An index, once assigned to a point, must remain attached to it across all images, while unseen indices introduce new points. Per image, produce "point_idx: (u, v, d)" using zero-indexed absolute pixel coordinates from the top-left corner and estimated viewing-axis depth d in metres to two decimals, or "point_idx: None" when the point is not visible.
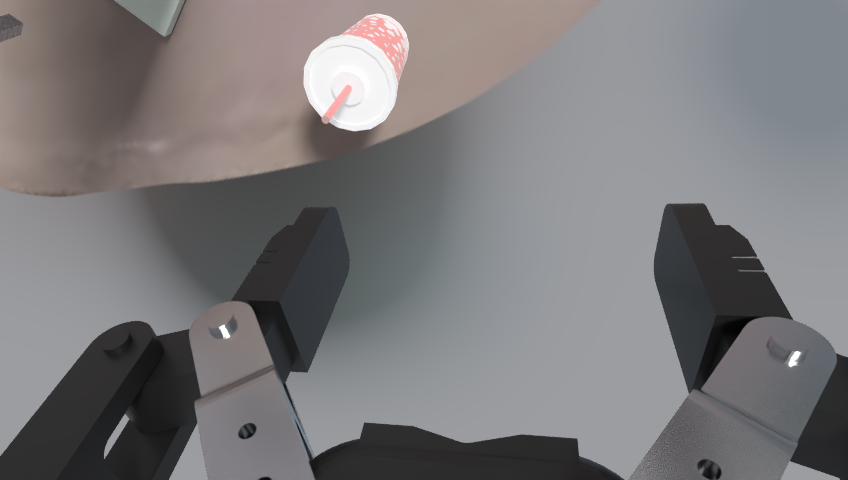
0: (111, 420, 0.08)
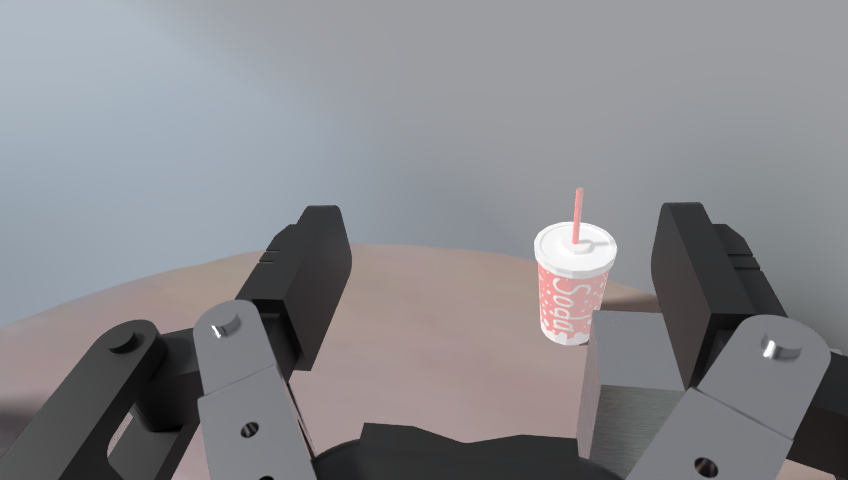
0: (114, 418, 0.08)
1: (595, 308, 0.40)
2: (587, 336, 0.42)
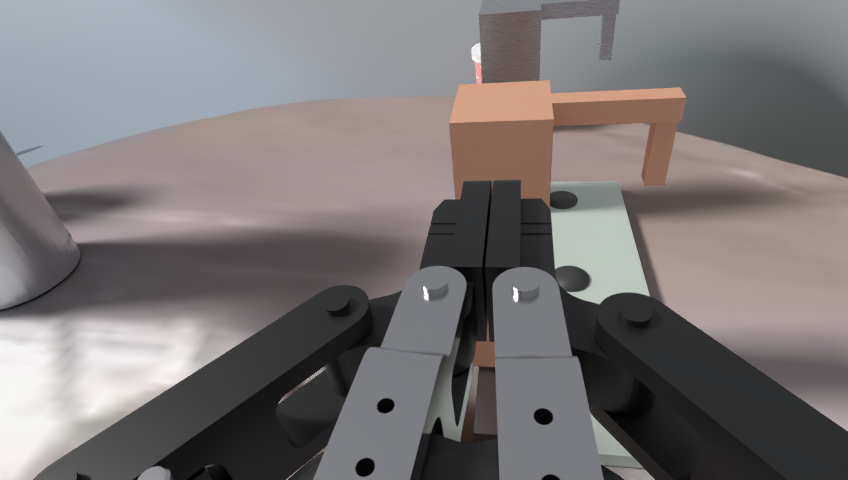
0: (294, 378, 0.09)
1: None
2: None
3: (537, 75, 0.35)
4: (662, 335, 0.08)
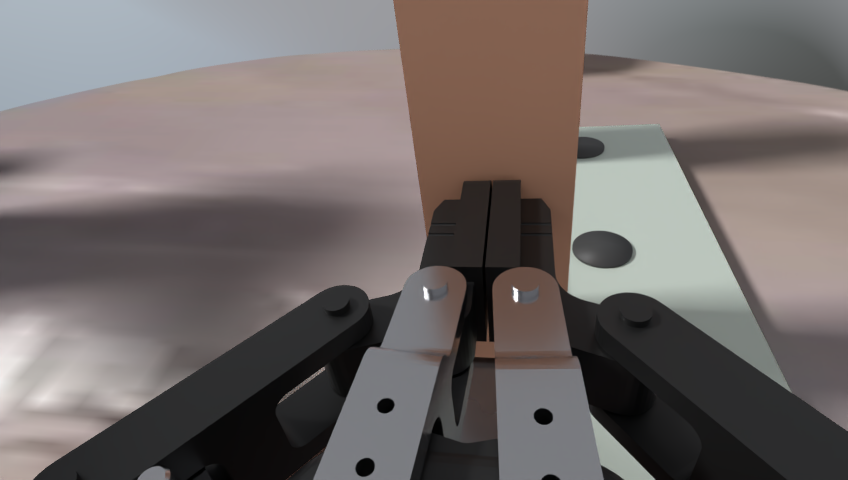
0: (294, 378, 0.09)
1: None
2: None
3: None
4: (662, 335, 0.08)
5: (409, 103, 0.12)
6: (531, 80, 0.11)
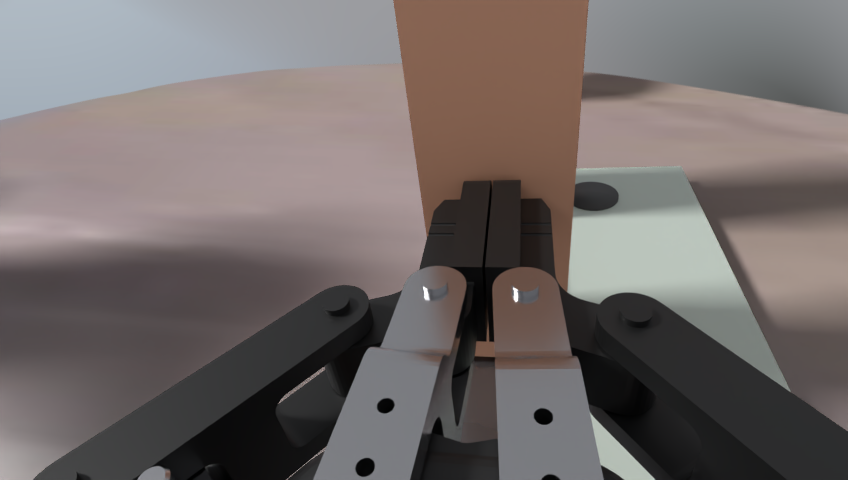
0: (295, 379, 0.09)
1: None
2: None
3: None
4: (662, 335, 0.08)
5: (409, 103, 0.12)
6: (531, 80, 0.11)
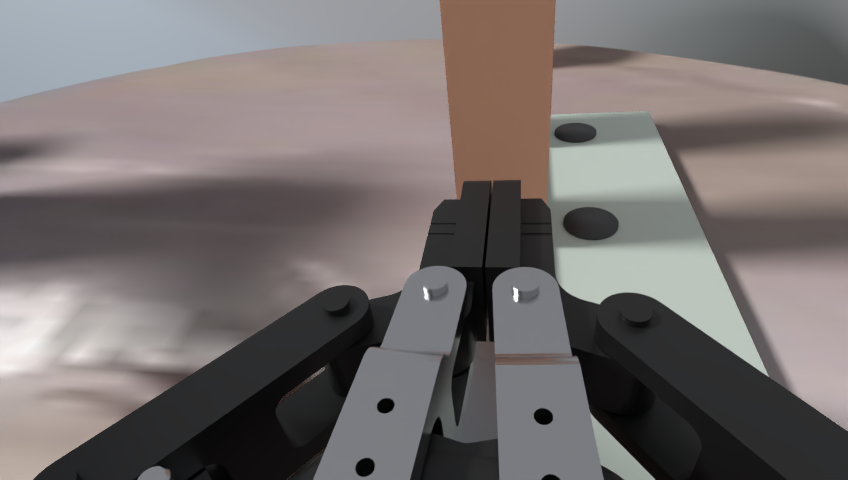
0: (294, 378, 0.09)
1: None
2: None
3: None
4: (662, 335, 0.08)
5: (442, 23, 0.18)
6: (522, 5, 0.18)
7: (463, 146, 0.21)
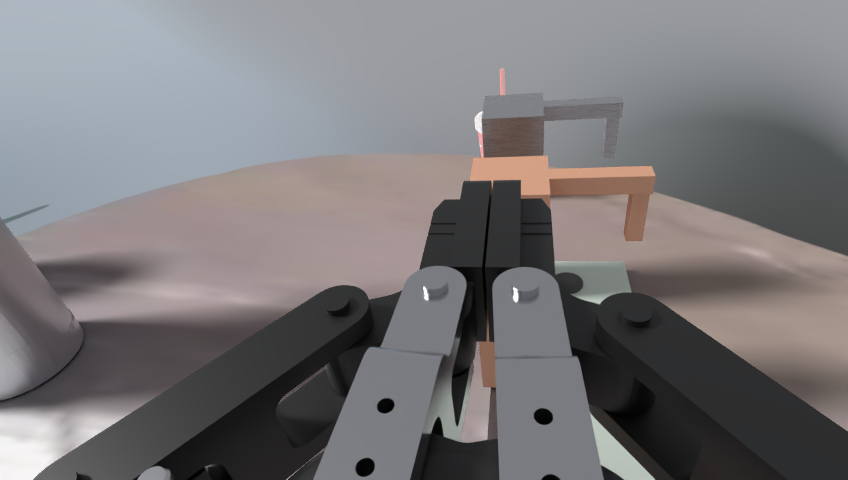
0: (295, 378, 0.09)
1: None
2: None
3: None
4: (662, 335, 0.08)
5: None
6: None
7: (486, 344, 0.31)
